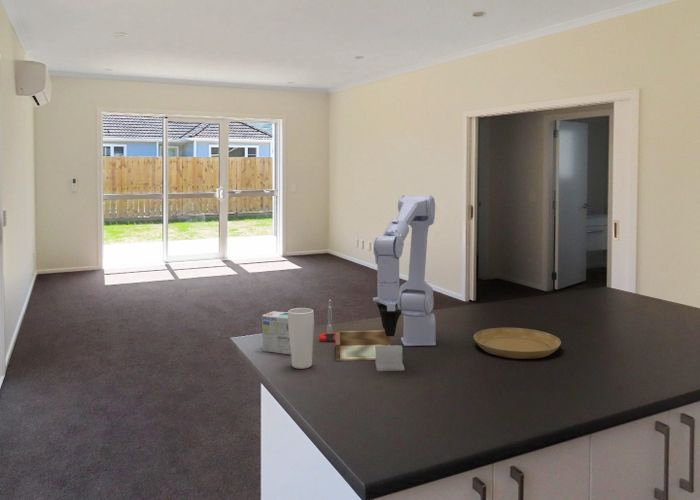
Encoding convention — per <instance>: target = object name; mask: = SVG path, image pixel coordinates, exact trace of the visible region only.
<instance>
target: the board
mask: <svg viewBox="0 0 700 500" xmlns="http://www.w3.org/2000/svg"><path fill="white" fill-rule="evenodd" d="M375 346H389V345H343V346H340V359H336V358H335V362H336V361H337V362H340V361H341V362H342V361H344V362H345V361H375Z"/></svg>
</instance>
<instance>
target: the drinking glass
mask: <svg viewBox="0 0 700 500" xmlns="http://www.w3.org/2000/svg"><path fill="white" fill-rule="evenodd" d="M287 312H288V329H289V338H290V347H291V365H292V367H293V368H295V369H299V370H301V369H302V370H303V369H308V368H310V367H312V365H313V347H314V332H315V314H314V309H312V308H309V307H308V308H307V307H298V308H297V307H296V308H291V309H289V310H288V311H287Z"/></svg>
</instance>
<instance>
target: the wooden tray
mask: <svg viewBox="0 0 700 500" xmlns="http://www.w3.org/2000/svg"><path fill="white" fill-rule="evenodd" d="M334 332H336V336H335V337H336V342H335V360H336V359H340V346H343V345H391V336H386V334H385V329H381V330H378V329H377V330H375V329H374V330H342V331H341V330H339V331H337V330H336V331H334Z"/></svg>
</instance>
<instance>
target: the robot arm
mask: <svg viewBox="0 0 700 500" xmlns="http://www.w3.org/2000/svg"><path fill="white" fill-rule="evenodd" d="M397 209H398V214H397V217H396V218H394V219H392V220H391V221H390V222H389V223H388V225H387V227H386V228H385V230H384V231H383V233H382V235H378V237H375V239H374V242H373V247H372V248H373V254H374V259H375V264H376V266H377V269H376V270H377V272H376V273H377V274H376V275H377V277H376V278H377V285H376V286H377V296H376V297H372V300H373V302H376V306H377V308H378V312H379V315H380V319H381V323H382V324H381V325H382V328H383V330H385V334H386V336H390V337H395V335H396V330H397V324H398V321H399V319H400V317H401V315H402V317H403V318H402V319H403V320H402V321H403V322H402V323H403V332H402V333H403V337H400V340H401V343H402V346H404V347H415V346H416V347H418V346H422V347H423V346H437V343H436V316H435V313H434V312H432V311H433V309H434V305H435V303H434V302H435V301H434V289H433V287H432V286H431V285H430V284H429V283H428V282H426V281H425V280H426V279H425V278H426V277H425V274H426V264H427V263H426V261H427V249H428V247H427V246H428V234H429V233H428V232H429V227H430V226H432V225H434V222H435V216H436V203H435V198H434V197H433V195H431V194H428V195H403V194H402V195H400V197H399V199H398V202H397ZM409 227H410V228H411V235H410V236H411V237H410V249H409V250H410V251H409V263H408V264H409V265H408V276H407V277H408V279H407V281H406V282H404V283H402V284H401V285H400V258H401V257H402V255H403V249H404V245H405V240H406V239H407V236H408V234H409V232H410V228H409ZM397 308H398V309H397Z"/></svg>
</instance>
